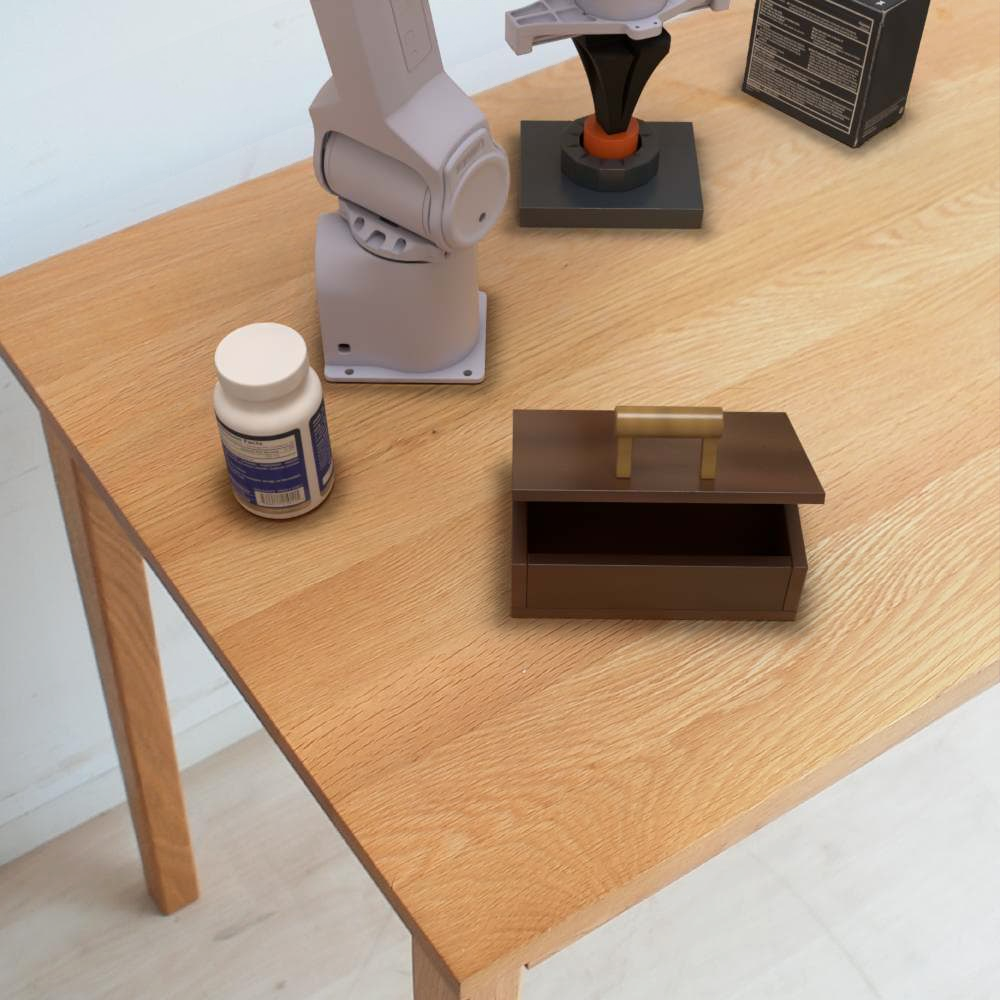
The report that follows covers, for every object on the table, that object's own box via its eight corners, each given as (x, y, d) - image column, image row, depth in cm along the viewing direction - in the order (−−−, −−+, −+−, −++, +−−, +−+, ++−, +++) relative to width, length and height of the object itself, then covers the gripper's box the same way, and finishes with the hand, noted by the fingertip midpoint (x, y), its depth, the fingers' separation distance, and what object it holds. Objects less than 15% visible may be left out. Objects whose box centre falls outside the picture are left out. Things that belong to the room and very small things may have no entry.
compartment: (795, 620, 74) (808, 568, 71) (510, 617, 74) (511, 564, 71) (773, 475, 81) (784, 421, 77) (512, 473, 81) (512, 418, 78)
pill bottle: (283, 432, 83) (262, 299, 75) (356, 479, 80) (341, 346, 73) (210, 489, 80) (180, 357, 73) (283, 540, 78) (260, 408, 70)
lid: (824, 504, 67) (833, 422, 66) (511, 501, 67) (512, 419, 66) (785, 422, 77) (791, 348, 76) (512, 419, 77) (513, 346, 76)
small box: (909, 115, 104) (942, -21, 96) (855, 151, 101) (885, 14, 93) (792, 57, 109) (815, -76, 101) (737, 91, 106) (756, -44, 98)
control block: (519, 228, 95) (520, 184, 93) (520, 140, 102) (520, 97, 99) (701, 230, 95) (707, 186, 93) (690, 142, 102) (695, 98, 99)
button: (583, 163, 95) (584, 140, 94) (582, 131, 98) (583, 109, 96) (638, 163, 95) (640, 141, 94) (635, 132, 98) (637, 109, 96)
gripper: (539, -18, 81) (534, 183, 91) (767, -65, 84) (737, 133, 95) (491, -74, 85) (491, 124, 95) (710, -117, 89) (688, 78, 99)
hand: (611, 125), depth 95 cm, fingers closed, pressing on button
